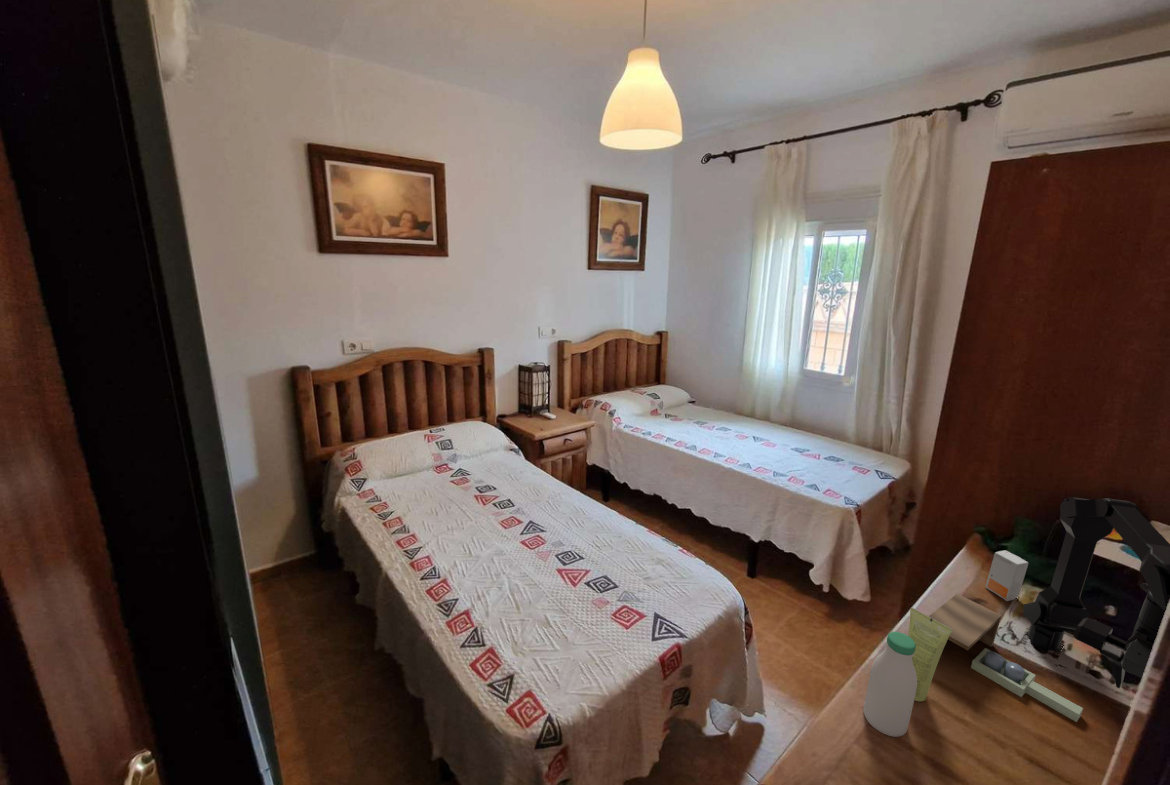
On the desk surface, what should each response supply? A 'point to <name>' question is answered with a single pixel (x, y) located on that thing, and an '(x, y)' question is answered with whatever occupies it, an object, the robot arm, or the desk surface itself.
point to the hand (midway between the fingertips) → (1135, 695)
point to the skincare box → (1006, 575)
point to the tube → (926, 648)
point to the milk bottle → (892, 687)
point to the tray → (1028, 688)
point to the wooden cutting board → (968, 621)
